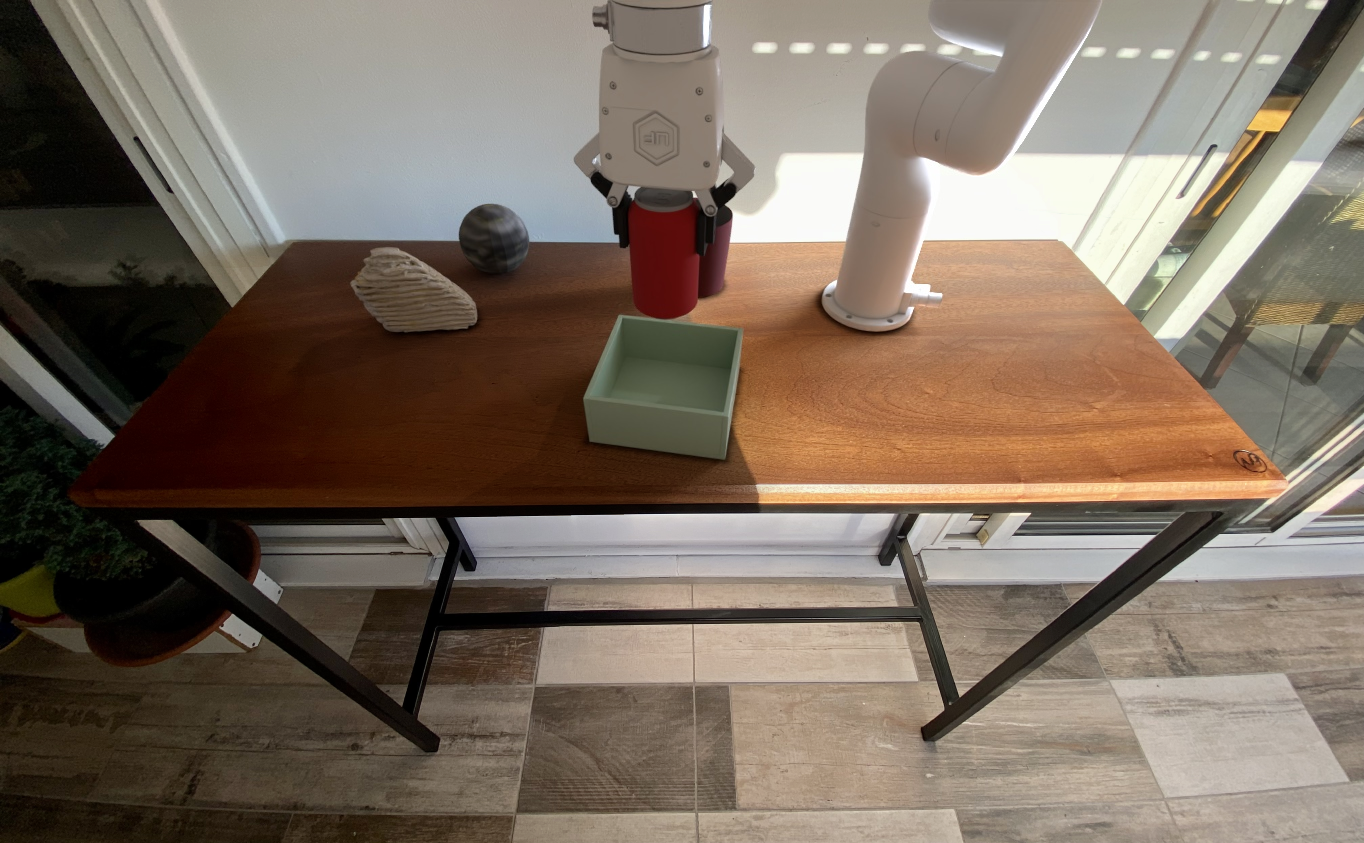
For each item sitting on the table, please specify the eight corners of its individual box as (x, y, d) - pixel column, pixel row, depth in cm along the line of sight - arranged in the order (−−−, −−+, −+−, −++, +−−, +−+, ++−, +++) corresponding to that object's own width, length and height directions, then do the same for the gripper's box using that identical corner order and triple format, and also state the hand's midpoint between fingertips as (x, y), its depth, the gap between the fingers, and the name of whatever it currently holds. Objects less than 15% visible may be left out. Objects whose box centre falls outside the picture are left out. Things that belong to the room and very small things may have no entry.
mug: (663, 259, 94) (662, 191, 86) (719, 256, 95) (722, 188, 87) (672, 302, 86) (671, 231, 78) (732, 298, 87) (738, 227, 79)
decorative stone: (524, 289, 88) (511, 225, 81) (458, 285, 88) (439, 221, 81) (541, 254, 95) (530, 193, 88) (480, 251, 96) (464, 190, 88)
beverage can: (700, 290, 64) (704, 180, 56) (694, 327, 60) (697, 213, 51) (638, 286, 65) (632, 177, 56) (628, 323, 60) (620, 209, 52)
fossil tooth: (476, 340, 81) (359, 337, 79) (482, 311, 85) (371, 308, 83) (462, 267, 73) (330, 262, 71) (469, 240, 77) (345, 234, 75)
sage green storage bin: (739, 370, 75) (743, 328, 70) (724, 459, 65) (728, 416, 60) (622, 356, 77) (618, 314, 72) (589, 441, 66) (582, 398, 62)
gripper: (534, 34, 43) (566, 256, 56) (774, 47, 41) (750, 275, 54) (566, 11, 48) (588, 219, 61) (780, 22, 46) (758, 235, 59)
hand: (664, 243), depth 57 cm, fingers closed on beverage can, 6 cm apart
